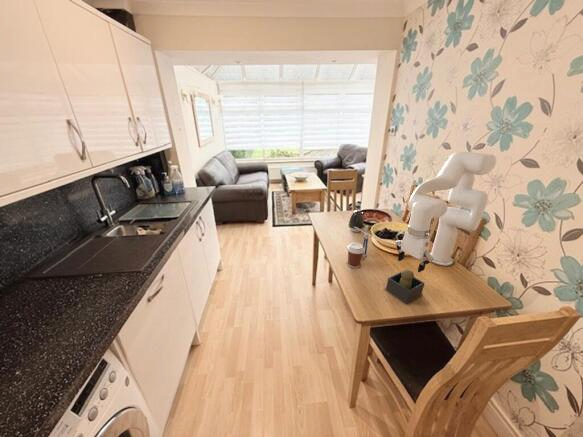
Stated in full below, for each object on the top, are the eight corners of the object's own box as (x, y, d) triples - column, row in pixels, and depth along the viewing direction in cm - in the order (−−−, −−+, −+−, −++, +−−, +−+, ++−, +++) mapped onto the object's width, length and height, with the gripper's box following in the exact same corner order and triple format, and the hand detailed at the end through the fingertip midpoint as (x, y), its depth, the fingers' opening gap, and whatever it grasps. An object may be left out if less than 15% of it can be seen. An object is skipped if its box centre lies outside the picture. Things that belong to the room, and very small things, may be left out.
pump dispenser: (364, 233, 165) (367, 213, 159) (349, 233, 165) (351, 213, 159) (360, 227, 174) (363, 208, 168) (346, 227, 175) (348, 208, 169)
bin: (400, 281, 118) (403, 270, 115) (421, 294, 109) (424, 283, 107) (385, 289, 113) (388, 277, 110) (406, 303, 104) (409, 291, 101)
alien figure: (346, 249, 146) (349, 220, 139) (352, 247, 149) (356, 218, 141) (371, 265, 130) (376, 234, 123) (378, 262, 133) (383, 232, 125)
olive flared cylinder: (409, 297, 107) (414, 277, 102) (395, 292, 110) (399, 272, 105) (411, 289, 112) (416, 270, 107) (397, 285, 115) (402, 265, 110)
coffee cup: (363, 270, 127) (365, 250, 122) (345, 268, 128) (347, 249, 124) (361, 260, 135) (364, 242, 130) (345, 258, 137) (347, 240, 132)
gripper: (444, 237, 93) (434, 272, 100) (405, 221, 107) (398, 253, 114) (433, 242, 90) (423, 278, 97) (394, 225, 103) (388, 258, 110)
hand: (410, 265), depth 105 cm, fingers open, 9 cm apart
